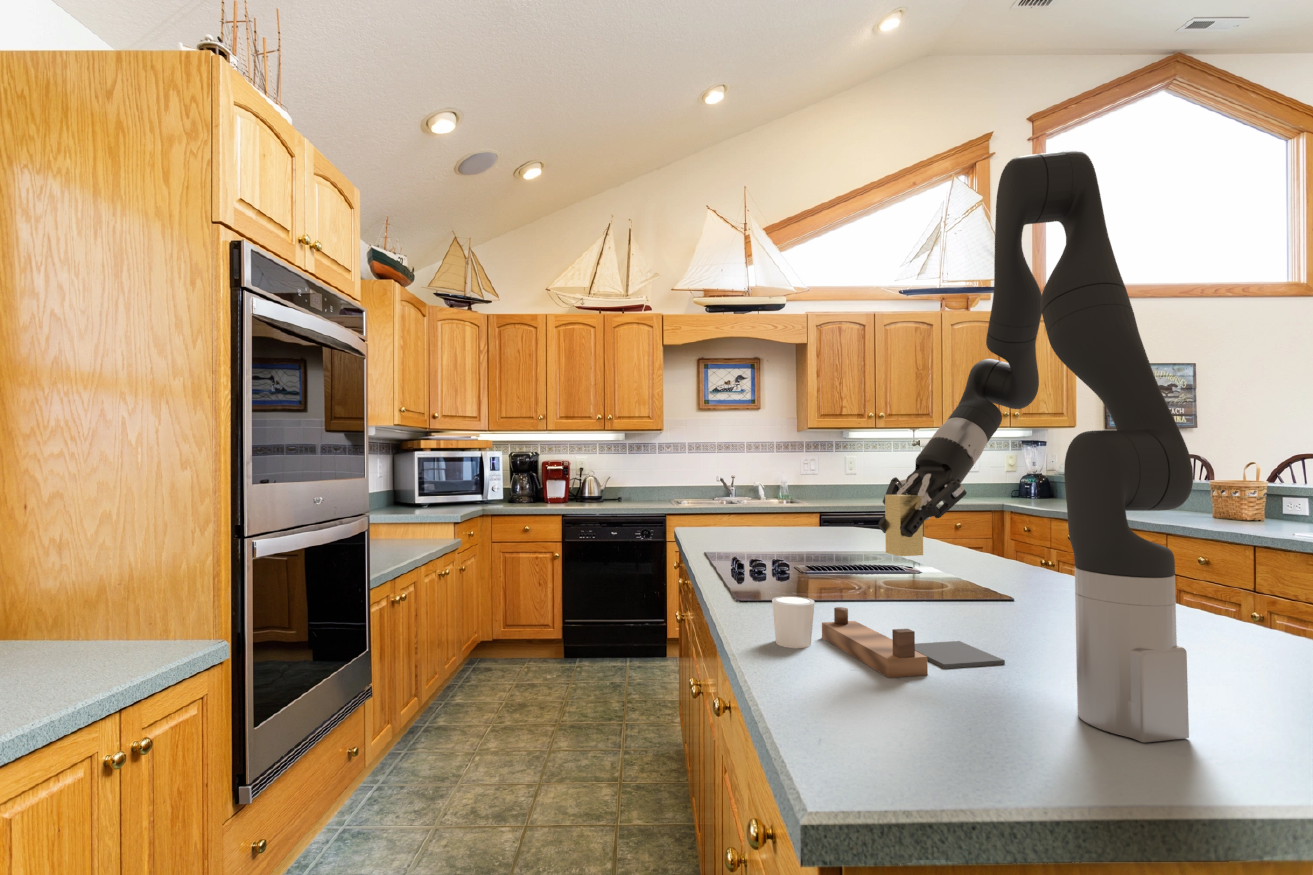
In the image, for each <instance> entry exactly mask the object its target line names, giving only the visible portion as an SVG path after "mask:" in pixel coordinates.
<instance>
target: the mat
mask: <svg viewBox="0 0 1313 875" xmlns="http://www.w3.org/2000/svg"><path fill="white" fill-rule="evenodd" d="M915 651H917V652H919V653H921V654H923V655H925V656H927V662H930V663H932V664H934V665H935V666H939V667H940V668H942V669H955V668H970V667H973V668H974V667H984V666H985V667H986V666H998V665H999V666H1000V665H1005V664H1006V662H1005V661H1006V660H1005V659H1003V658H1000V657H998V656H997V655H994V654H991V653H989V652H987V651H984V650H982V649H980V648H977V647H974V646H972V645H970V644H967V643H966V642H962V641H961V640H953V641H938V642H937V641H936V642H935V641H934V642H921V643H920V642H919V643H915Z"/></svg>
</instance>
